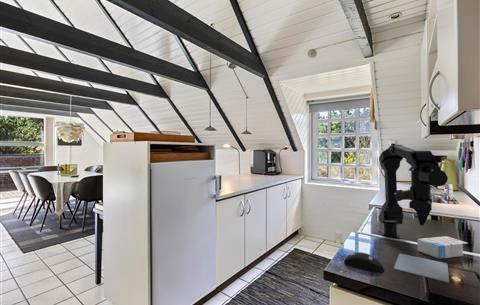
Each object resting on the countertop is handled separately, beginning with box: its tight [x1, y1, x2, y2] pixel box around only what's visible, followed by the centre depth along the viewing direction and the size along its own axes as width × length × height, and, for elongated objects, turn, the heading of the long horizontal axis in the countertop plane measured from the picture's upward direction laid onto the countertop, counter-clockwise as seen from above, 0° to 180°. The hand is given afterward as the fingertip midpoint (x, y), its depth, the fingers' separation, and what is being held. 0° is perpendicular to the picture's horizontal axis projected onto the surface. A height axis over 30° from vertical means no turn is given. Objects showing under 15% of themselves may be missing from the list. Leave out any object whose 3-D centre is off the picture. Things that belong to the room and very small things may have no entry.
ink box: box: [417, 235, 469, 260], centre depth 92 cm, size 8×5×15 cm
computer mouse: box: [343, 252, 385, 273], centre depth 82 cm, size 8×12×4 cm, turn 50°
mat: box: [393, 253, 450, 283], centre depth 81 cm, size 16×14×1 cm
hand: (421, 225), depth 88 cm, fingers closed
